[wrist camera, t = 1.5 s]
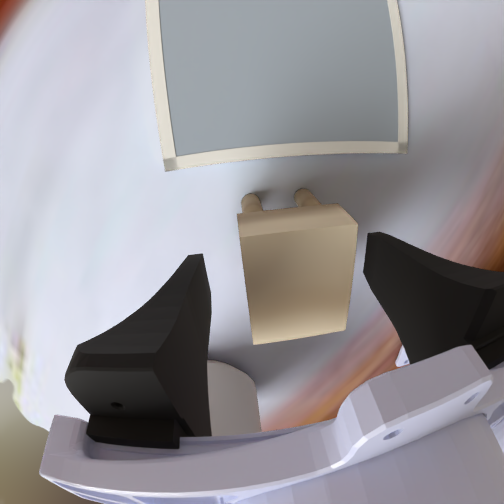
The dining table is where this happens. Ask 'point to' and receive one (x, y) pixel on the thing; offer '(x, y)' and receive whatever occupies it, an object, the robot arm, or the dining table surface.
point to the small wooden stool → (297, 267)
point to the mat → (276, 79)
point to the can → (231, 400)
